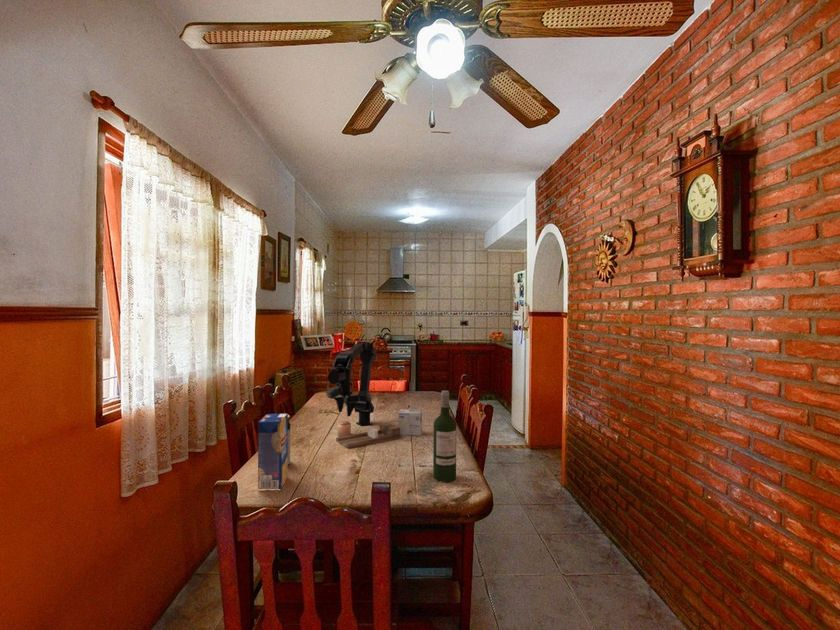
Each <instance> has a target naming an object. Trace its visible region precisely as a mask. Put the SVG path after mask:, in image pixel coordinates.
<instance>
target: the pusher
mask: <svg viewBox="0 0 840 630" xmlns="http://www.w3.org/2000/svg"><path fill="white" fill-rule="evenodd" d="M378 430H379V429H376V428H373V427H371V426H367V432H368V436H370V437H372V438H377V437H378Z"/></svg>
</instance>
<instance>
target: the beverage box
mask: <svg viewBox="0 0 840 630" xmlns="http://www.w3.org/2000/svg"><path fill="white" fill-rule="evenodd" d="M288 415H289V414H288V413H267V414H265V415H264V416H263V417H262V418H261V419H260V420H259V421H258V422H257V427H258V429H257V440H258V441H257V444H258V445H257V446H258V447H257V450H258V451H257V456H258V457H257V490H258V489H281V490H282V488H283V486H284V485H283V483H284V481H285V480H286V481H287V479H288V466H289V465H288ZM286 478H287V479H286ZM286 481H285V482H286ZM284 484H285V483H284ZM282 485H283V486H282ZM281 487H282V488H281Z"/></svg>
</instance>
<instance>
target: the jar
mask: <svg viewBox="0 0 840 630" xmlns="http://www.w3.org/2000/svg"><path fill="white" fill-rule="evenodd" d="M351 430H352V423H351V422H350V421H349V420H342V421H339V422H338V423H337V437H343V436H348V435H352V431H351Z"/></svg>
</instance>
